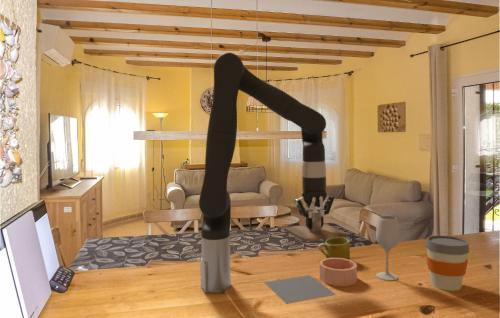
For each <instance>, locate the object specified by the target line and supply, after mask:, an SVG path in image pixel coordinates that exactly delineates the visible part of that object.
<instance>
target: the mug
mask: <svg viewBox="0 0 500 318" xmlns="http://www.w3.org/2000/svg"><path fill="white" fill-rule="evenodd" d="M350 246H351V244H350V240H349V238H345V237H336V238H329V239H325V243H324V242H321V243H319V244H318V247H317V248H318V250H319V251H320V252H321V253H322V254H323V256H324V257H325V259H326V258H344V259H348V260H351V254H350V253H351V252H350V251H351V247H350ZM323 248H324V249H325V251H326V252H325V251H324V249H323Z"/></svg>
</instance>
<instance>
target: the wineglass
mask: <svg viewBox="0 0 500 318" xmlns="http://www.w3.org/2000/svg"><path fill="white" fill-rule="evenodd" d="M375 238H376V241H377V244H378V245H379V246H380V247H381V249H384V251H385V254H386V255H385V271H380V272H376V274H375V277H376V278H377V277H378V278H377V279H380V280H383V281H386V282H387V281H389V282H390V281H396V280H398V279H399V277H398V275H397V274H395V273H392V272H389V253H390V251H391V250H393V249H394V248H395V247H396V246H397V245H398V243H399V242H400V227H399V222H398V217H396V216H393V215H380V216H378V218H377V224H376V229H375Z"/></svg>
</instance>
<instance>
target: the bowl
mask: <svg viewBox="0 0 500 318" xmlns="http://www.w3.org/2000/svg"><path fill="white" fill-rule="evenodd" d="M319 280H320V282H322V283H324V284H326V285H330V286H334V287H347V286H353V285H354V284H356V283H357V282H358V264H357V263H356V262H355V261H353V260H351V259H350V260H348V259H344V258H326V257H325V258H323V259H322V260H320V261H319Z"/></svg>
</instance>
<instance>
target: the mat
mask: <svg viewBox="0 0 500 318" xmlns="http://www.w3.org/2000/svg"><path fill="white" fill-rule="evenodd" d="M263 283H264V284H265V285H266V286H267V287H269V289H271V291H272V292H273V293H274V294H275V295H277V297H278V298H279V299H281V301H283V302H284V303H285V304H287V305H289V304H293V303H299V302H303V301H308V300H316V299H319V298H325V297H331V296H336V295H337V293H335V292H333V291H332V290H331V289H329V288H328V287H327V286H325V285H324V284H323V283H321V282H320V281H318V280H317V279H315V278H314V277H312V276H311V275H309V274H308V275H307V274H306V275H302V276H300V275H299V276H295V277H294V276H293V277H290V278H289V277H288V278H281V279H276V280H269V281H264V282H263Z"/></svg>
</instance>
